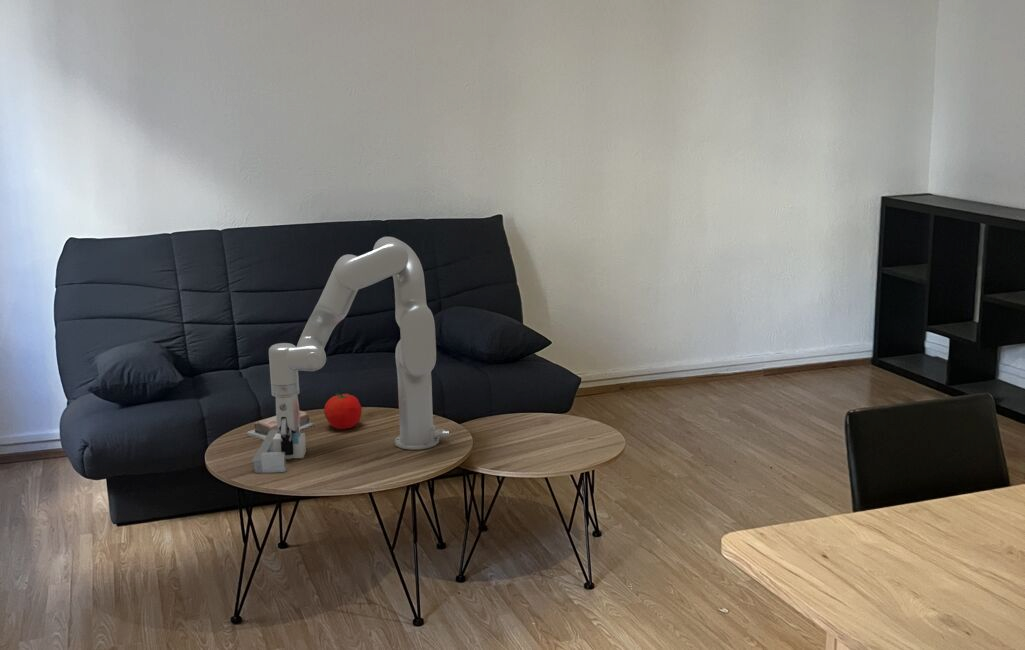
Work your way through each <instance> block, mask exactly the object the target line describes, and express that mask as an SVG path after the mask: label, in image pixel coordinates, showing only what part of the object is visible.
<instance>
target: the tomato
mask: <svg viewBox="0 0 1025 650" xmlns="http://www.w3.org/2000/svg"><path fill="white" fill-rule="evenodd" d="M335 394H336V395H334V396H332V397H331V398H329V399H328V400H327V401H326V403H325V405H324V410H323V412H324V413H323V414H324V417H325V419H326V420H327V422H328V424H329V425H330V426H331V427H333V428H334V429H338V430H345V429H346V430H347V429H351V428H353V427H354V426H356V425H357V424H358V423H359V421H360V420H361V417H362V412H363V411H362V406H361V404H360V402H359V399H358V398H357V397H355V395H351V394H350V392H348V393H343V394H339V393H335Z"/></svg>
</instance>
